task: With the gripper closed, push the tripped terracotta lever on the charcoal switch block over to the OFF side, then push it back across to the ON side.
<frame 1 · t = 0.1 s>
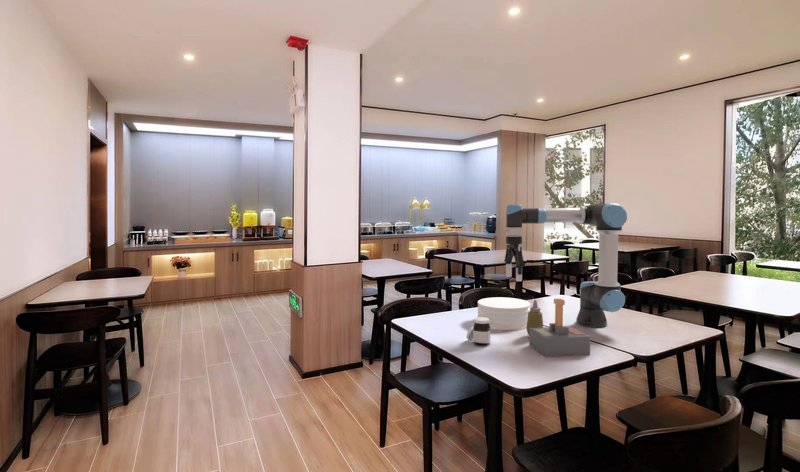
hand: (513, 278, 208), 28 cm above the table, tool pointing down, fingers open, 13 cm apart
spread jar: (478, 343, 198), on the table
plate stack: (503, 323, 233), on the table
switch block: (558, 349, 187), on the table
squeeze bottle: (534, 337, 207), on the table
breaker lever: (558, 315, 186), point 15 cm above the table, hinge at 0.0°
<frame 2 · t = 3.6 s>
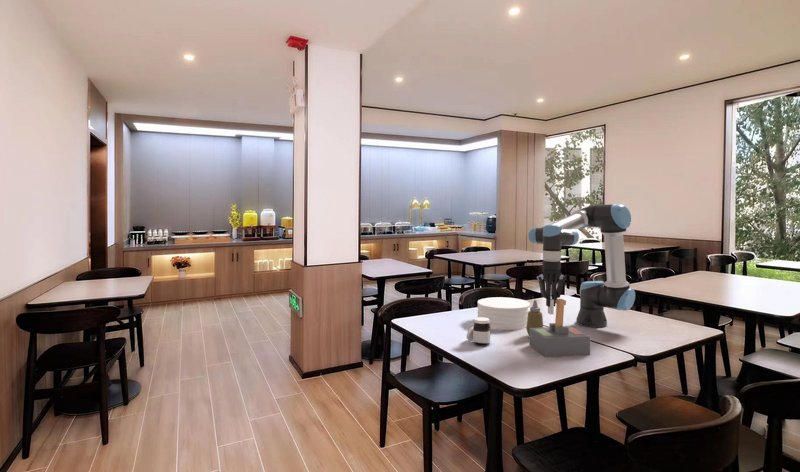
hand: (550, 313, 186), 16 cm above the table, tool pointing down, fingers closed
breaker lever: (559, 315, 186), point 15 cm above the table, hinge at -2.8°, touching gripper
everything else where it was.
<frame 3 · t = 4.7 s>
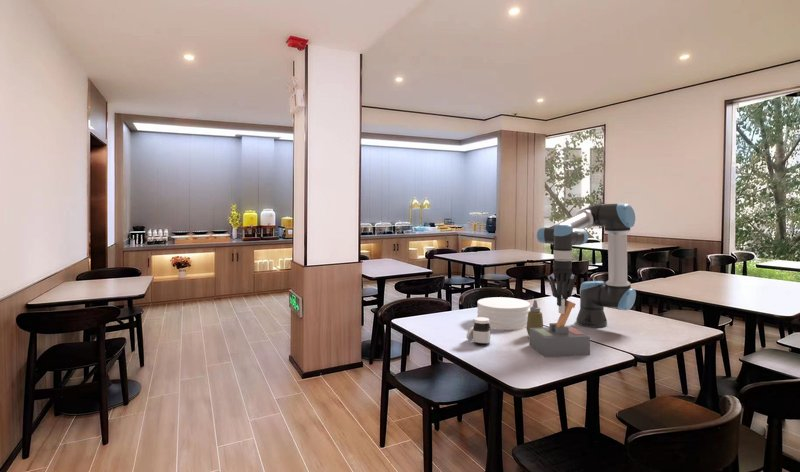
hand: (561, 313, 186), 16 cm above the table, tool pointing down, fingers closed
breaker lever: (564, 316, 186), point 15 cm above the table, hinge at -23.9°, touching gripper
everything else where it was.
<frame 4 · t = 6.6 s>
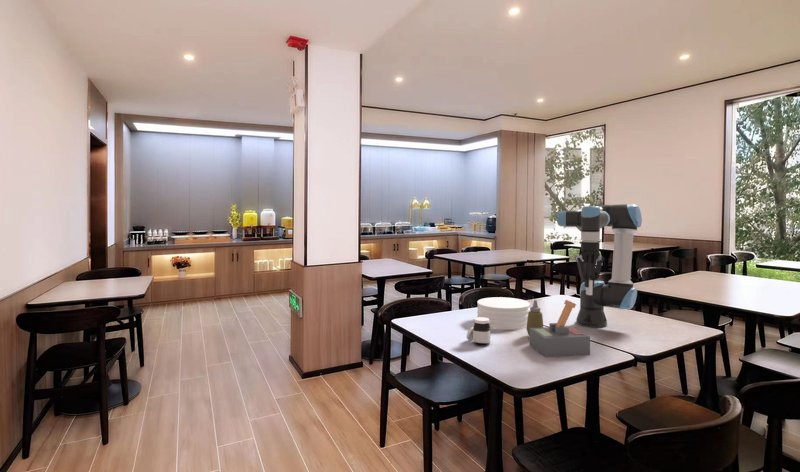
hand: (589, 294, 187), 24 cm above the table, tool pointing down, fingers closed
breaker lever: (564, 316, 186), point 15 cm above the table, hinge at -24.9°
everything else where it was.
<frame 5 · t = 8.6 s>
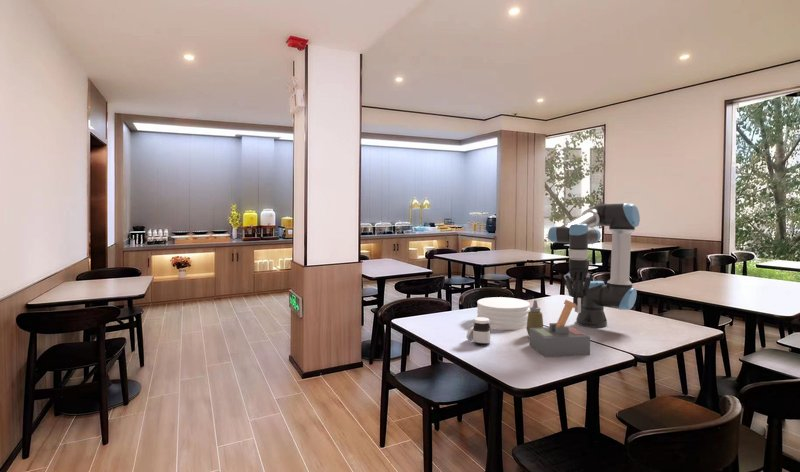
hand: (577, 311, 187), 17 cm above the table, tool pointing down, fingers closed
breaker lever: (564, 316, 186), point 15 cm above the table, hinge at -24.5°, touching gripper
everything else where it was.
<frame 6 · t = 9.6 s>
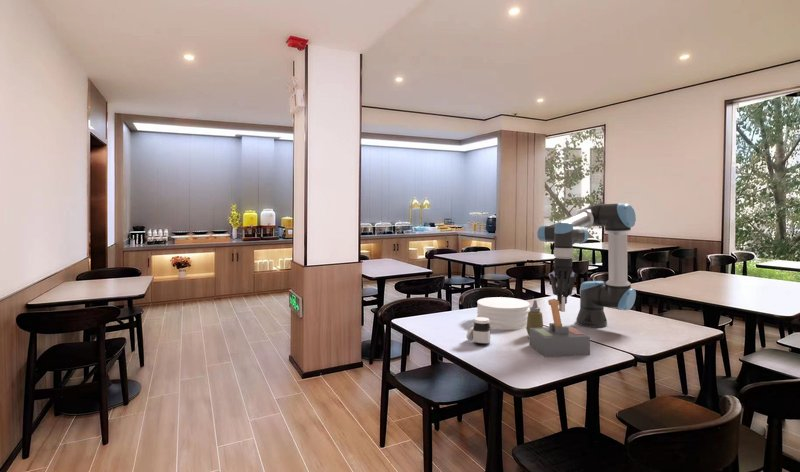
hand: (561, 311, 185), 17 cm above the table, tool pointing down, fingers closed
breaker lever: (556, 315, 186), point 15 cm above the table, hinge at 12.0°, touching gripper
everything else where it was.
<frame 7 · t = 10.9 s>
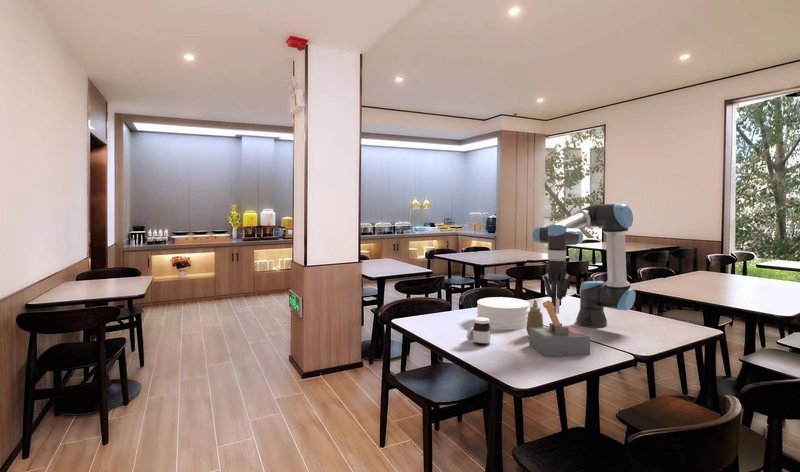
hand: (556, 313, 185), 17 cm above the table, tool pointing down, fingers closed
breaker lever: (553, 317, 186), point 15 cm above the table, hinge at 25.1°, touching gripper
everything else where it was.
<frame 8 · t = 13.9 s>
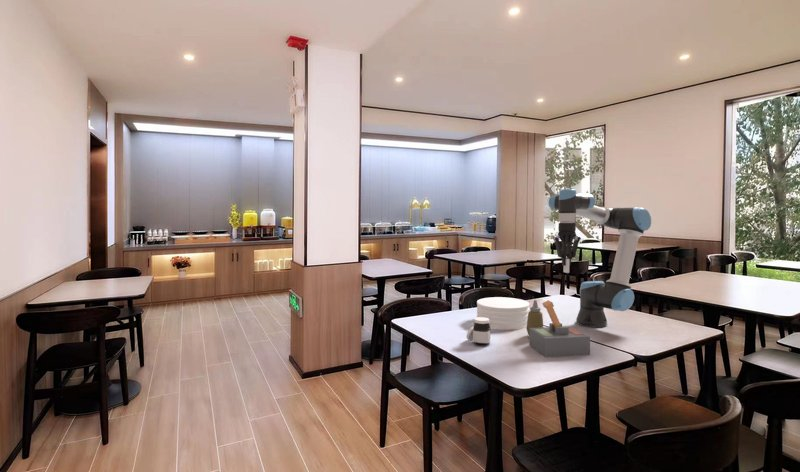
hand: (566, 272, 199), 32 cm above the table, tool pointing down, fingers closed
breaker lever: (553, 317, 186), point 15 cm above the table, hinge at 25.1°
everything else where it was.
at the end: breaker lever at +25° (first picture: +0°); squeeze bottle moved 0.2 cm from its start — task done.
